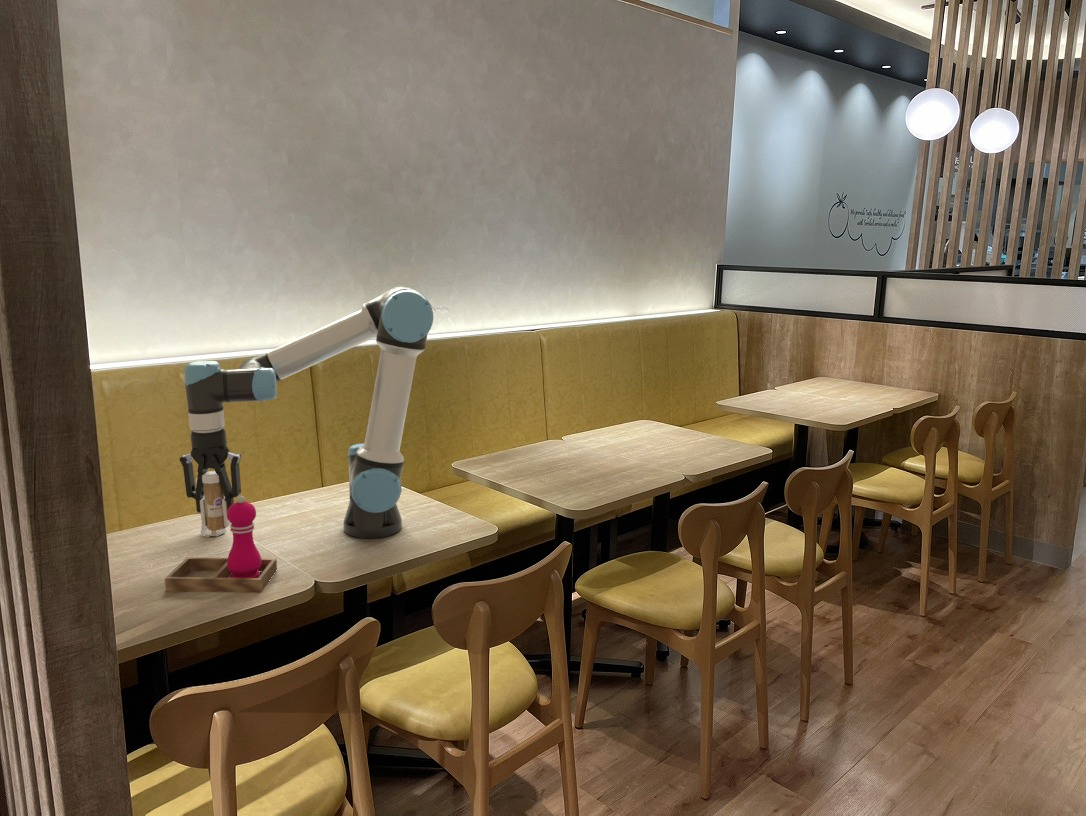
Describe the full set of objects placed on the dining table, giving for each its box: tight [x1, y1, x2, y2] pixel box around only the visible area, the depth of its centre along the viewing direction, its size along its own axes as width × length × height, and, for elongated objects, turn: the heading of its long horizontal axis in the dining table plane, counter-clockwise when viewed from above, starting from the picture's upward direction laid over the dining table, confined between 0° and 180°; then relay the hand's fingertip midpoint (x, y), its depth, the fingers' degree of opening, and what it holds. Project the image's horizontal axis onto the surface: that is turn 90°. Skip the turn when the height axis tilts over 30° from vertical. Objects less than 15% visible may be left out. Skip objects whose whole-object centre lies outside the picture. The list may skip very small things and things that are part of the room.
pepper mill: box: [227, 495, 262, 578], centre depth 179 cm, size 7×7×20 cm
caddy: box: [164, 556, 278, 594], centre depth 181 cm, size 20×12×3 cm, turn 91°
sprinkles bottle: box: [202, 470, 227, 531], centre depth 190 cm, size 5×5×13 cm
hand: (217, 524), depth 191 cm, fingers closed on sprinkles bottle, 4 cm apart
